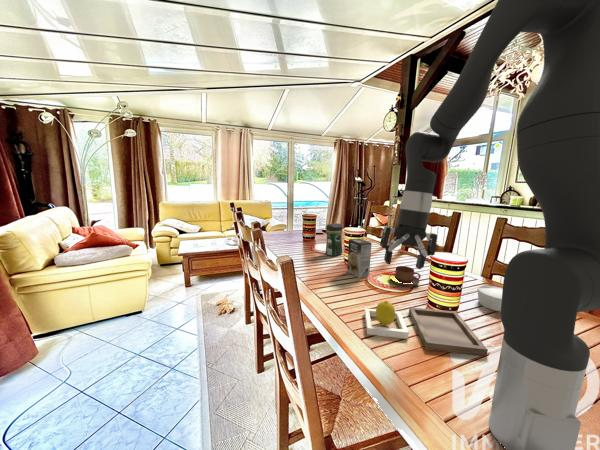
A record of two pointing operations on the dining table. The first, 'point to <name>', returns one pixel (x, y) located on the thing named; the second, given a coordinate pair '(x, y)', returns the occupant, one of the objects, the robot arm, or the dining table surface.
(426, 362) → the dining table surface
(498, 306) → the ramekin
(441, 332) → the walnut tray
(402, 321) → the holder frame
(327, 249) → the coffee jar
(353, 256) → the coffee box
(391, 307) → the lemon
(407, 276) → the cup and saucer
